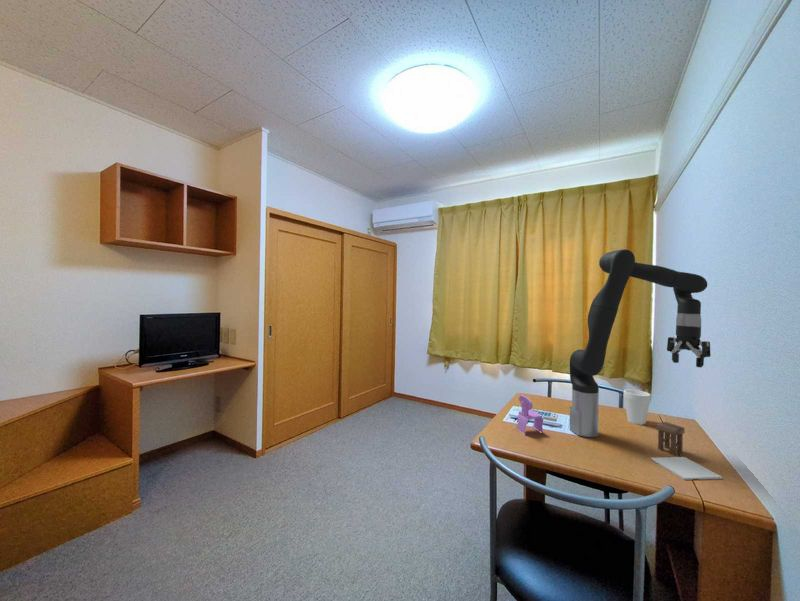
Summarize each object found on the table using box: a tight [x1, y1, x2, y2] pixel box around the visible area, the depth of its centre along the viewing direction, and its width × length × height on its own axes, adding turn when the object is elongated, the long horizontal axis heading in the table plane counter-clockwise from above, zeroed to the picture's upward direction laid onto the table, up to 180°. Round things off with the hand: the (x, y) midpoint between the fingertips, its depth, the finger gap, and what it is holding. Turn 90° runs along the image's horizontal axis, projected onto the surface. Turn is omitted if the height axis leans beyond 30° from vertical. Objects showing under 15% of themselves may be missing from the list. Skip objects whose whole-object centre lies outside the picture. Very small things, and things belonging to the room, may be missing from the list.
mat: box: [650, 456, 723, 481], centre depth 101 cm, size 12×12×1 cm
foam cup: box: [623, 389, 652, 426], centre depth 139 cm, size 10×9×13 cm
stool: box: [656, 421, 685, 456], centre depth 113 cm, size 6×6×9 cm
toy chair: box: [515, 394, 544, 435], centre depth 129 cm, size 8×9×15 cm
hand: (687, 364), depth 128 cm, fingers open, 8 cm apart
